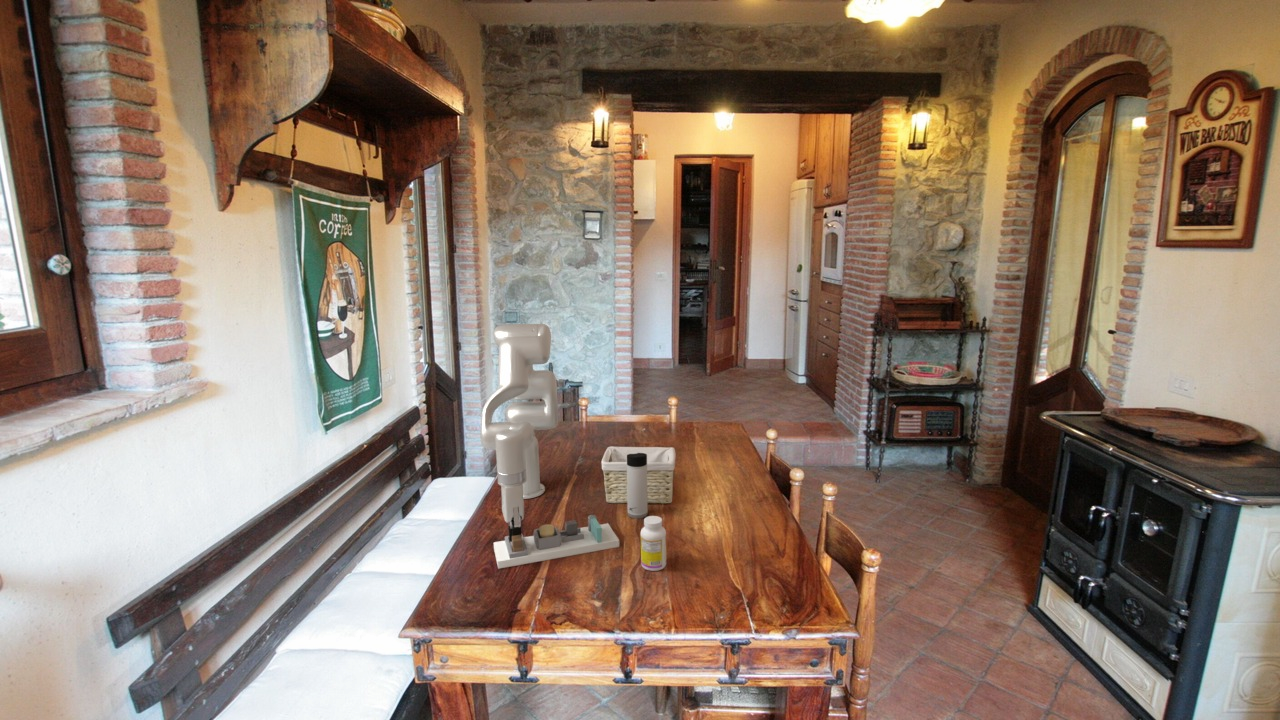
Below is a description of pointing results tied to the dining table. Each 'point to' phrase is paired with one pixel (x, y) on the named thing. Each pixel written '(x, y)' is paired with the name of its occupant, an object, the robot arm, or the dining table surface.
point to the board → (552, 545)
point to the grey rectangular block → (571, 528)
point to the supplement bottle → (653, 544)
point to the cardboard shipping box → (517, 543)
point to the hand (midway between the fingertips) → (515, 539)
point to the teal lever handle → (595, 528)
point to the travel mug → (637, 485)
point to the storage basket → (657, 473)
